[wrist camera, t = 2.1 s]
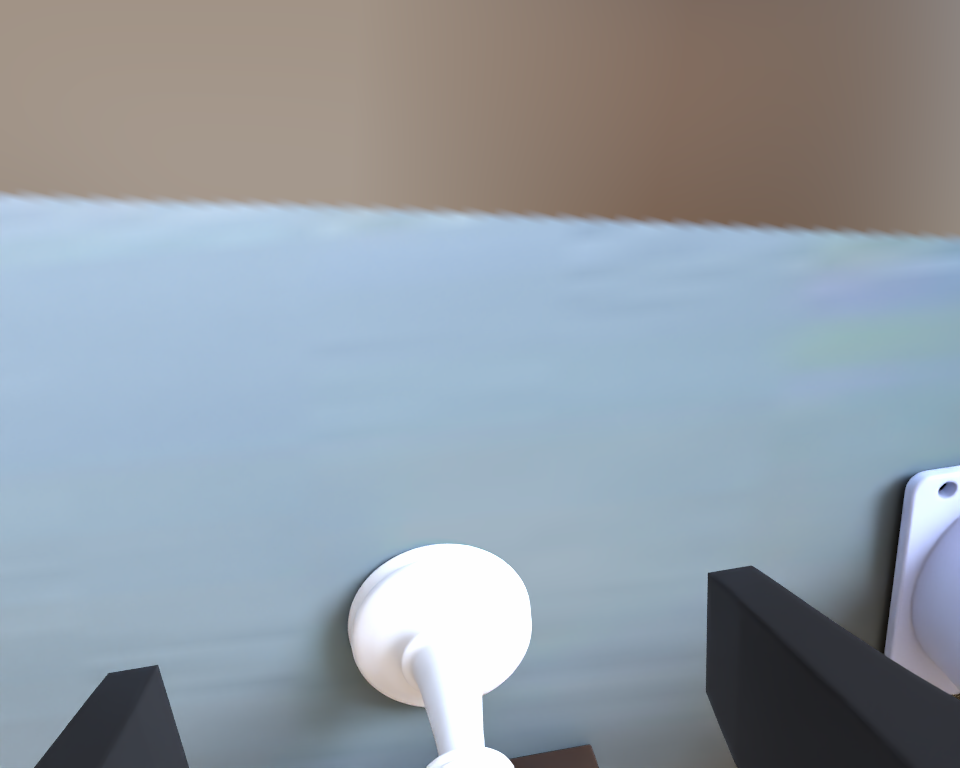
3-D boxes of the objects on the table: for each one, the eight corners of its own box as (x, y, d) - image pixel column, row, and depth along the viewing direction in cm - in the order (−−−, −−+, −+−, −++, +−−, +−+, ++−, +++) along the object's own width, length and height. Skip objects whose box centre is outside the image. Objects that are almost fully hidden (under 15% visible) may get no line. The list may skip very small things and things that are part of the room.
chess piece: (509, 696, 25) (605, 1082, 16) (336, 687, 24) (335, 1095, 15) (547, 551, 24) (678, 894, 15) (361, 534, 23) (379, 893, 14)
